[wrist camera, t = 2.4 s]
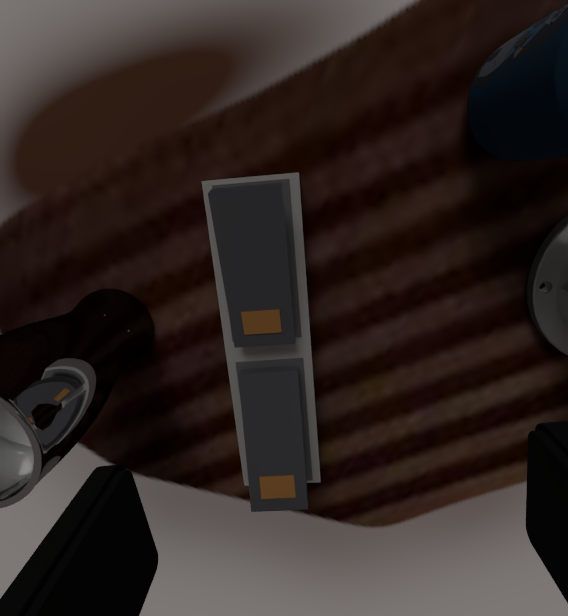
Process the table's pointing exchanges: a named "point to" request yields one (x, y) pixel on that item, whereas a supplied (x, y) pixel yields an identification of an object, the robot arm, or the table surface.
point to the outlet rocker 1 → (254, 263)
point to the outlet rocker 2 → (273, 438)
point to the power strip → (301, 349)
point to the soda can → (524, 94)
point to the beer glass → (62, 382)
